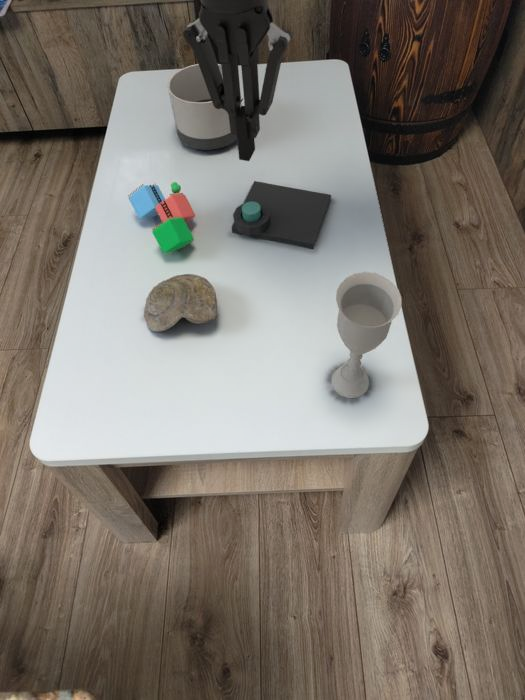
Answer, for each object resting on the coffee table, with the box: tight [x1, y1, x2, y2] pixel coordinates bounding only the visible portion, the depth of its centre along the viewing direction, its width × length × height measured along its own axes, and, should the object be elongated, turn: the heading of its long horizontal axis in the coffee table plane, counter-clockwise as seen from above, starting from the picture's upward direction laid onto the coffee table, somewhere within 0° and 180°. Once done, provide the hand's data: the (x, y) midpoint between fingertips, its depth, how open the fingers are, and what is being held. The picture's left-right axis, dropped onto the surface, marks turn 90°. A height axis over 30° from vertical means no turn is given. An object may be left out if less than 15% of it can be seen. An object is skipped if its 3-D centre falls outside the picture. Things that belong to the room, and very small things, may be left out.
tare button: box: [242, 202, 261, 222], centre depth 81 cm, size 3×3×2 cm
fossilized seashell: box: [143, 273, 218, 333], centre depth 73 cm, size 11×11×7 cm
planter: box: [167, 63, 243, 151], centre depth 93 cm, size 13×13×10 cm
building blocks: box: [127, 181, 196, 254], centre depth 81 cm, size 8×8×12 cm
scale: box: [231, 180, 332, 250], centre depth 83 cm, size 14×13×3 cm
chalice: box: [331, 271, 402, 399], centre depth 60 cm, size 7×7×18 cm
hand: (247, 154), depth 72 cm, fingers closed
